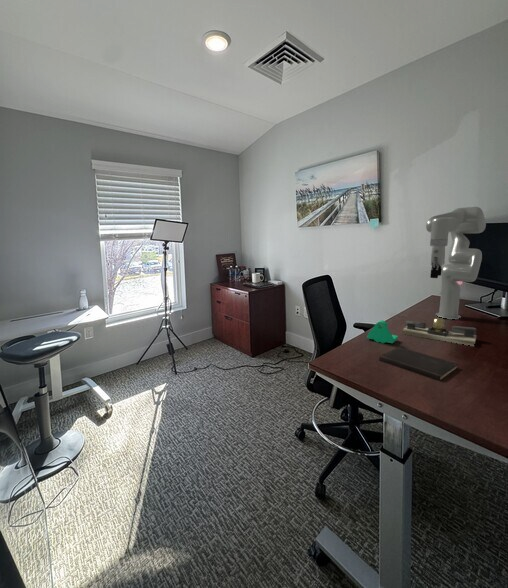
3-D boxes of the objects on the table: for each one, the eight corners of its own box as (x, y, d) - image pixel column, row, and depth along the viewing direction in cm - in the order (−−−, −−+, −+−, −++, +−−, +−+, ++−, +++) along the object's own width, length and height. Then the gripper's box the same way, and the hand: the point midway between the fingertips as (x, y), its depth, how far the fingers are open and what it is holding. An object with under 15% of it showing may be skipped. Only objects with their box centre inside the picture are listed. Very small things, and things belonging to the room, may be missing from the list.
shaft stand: (407, 328, 162) (408, 317, 161) (475, 339, 143) (477, 327, 142) (401, 333, 153) (402, 322, 152) (473, 346, 135) (475, 333, 133)
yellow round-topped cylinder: (444, 332, 148) (445, 318, 147) (442, 334, 145) (444, 320, 143) (433, 330, 151) (434, 317, 150) (431, 333, 148) (432, 319, 146)
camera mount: (397, 341, 144) (399, 320, 142) (392, 345, 139) (394, 324, 137) (372, 336, 152) (373, 316, 150) (366, 340, 147) (367, 319, 145)
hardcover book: (398, 351, 133) (399, 346, 132) (457, 369, 115) (458, 363, 114) (378, 361, 123) (379, 356, 123) (439, 382, 105) (440, 376, 105)
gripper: (444, 244, 142) (441, 279, 146) (450, 242, 155) (446, 274, 159) (426, 244, 147) (424, 278, 151) (433, 242, 160) (430, 274, 164)
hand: (435, 276), depth 155 cm, fingers open, 9 cm apart
